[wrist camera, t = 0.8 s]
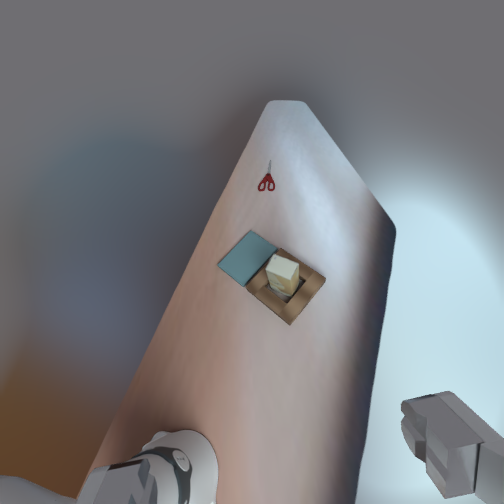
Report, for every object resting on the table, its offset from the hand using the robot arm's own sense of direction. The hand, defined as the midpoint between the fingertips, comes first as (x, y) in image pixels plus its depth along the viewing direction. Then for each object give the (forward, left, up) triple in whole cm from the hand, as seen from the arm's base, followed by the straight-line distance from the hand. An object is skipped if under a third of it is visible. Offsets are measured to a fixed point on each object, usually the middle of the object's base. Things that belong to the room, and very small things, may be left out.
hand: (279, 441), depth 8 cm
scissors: (+44, +47, -52) cm, 83 cm away
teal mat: (+17, +32, -52) cm, 63 cm away
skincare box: (+17, +18, -52) cm, 58 cm away
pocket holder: (+17, +18, -52) cm, 57 cm away
